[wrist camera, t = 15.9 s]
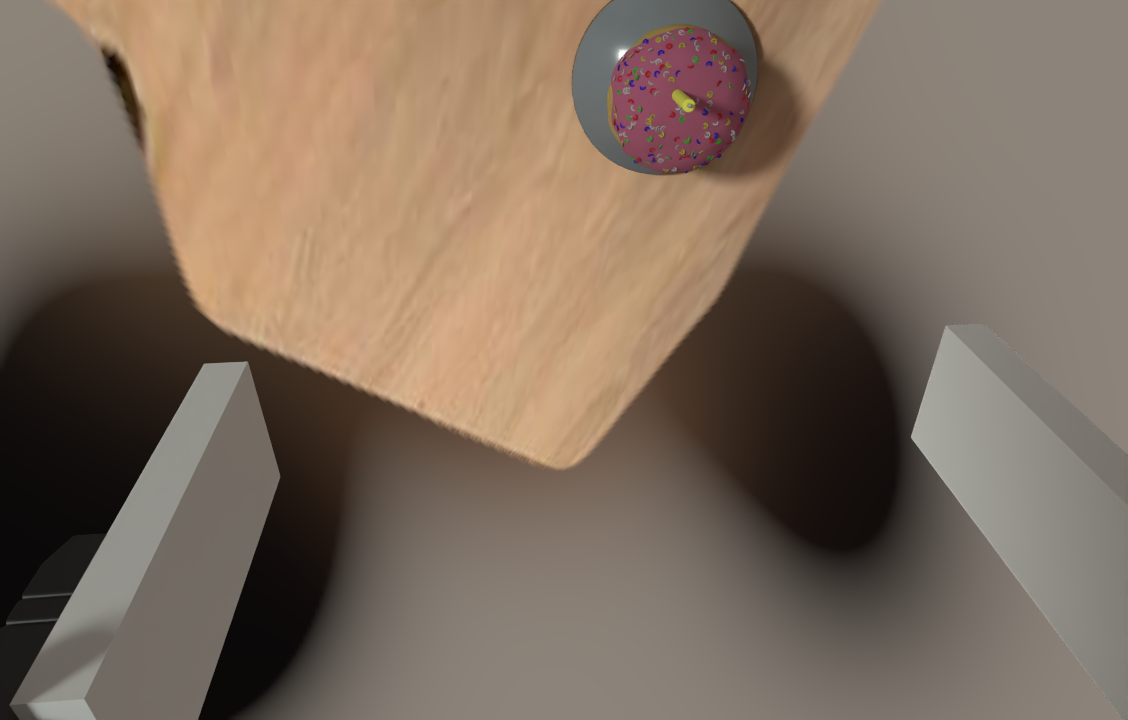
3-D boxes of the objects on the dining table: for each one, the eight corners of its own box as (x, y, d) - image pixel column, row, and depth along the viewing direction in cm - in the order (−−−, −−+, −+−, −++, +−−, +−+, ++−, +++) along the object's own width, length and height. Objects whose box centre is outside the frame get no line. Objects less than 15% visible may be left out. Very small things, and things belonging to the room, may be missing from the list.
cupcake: (571, 70, 47) (594, 123, 37) (685, -20, 45) (742, 11, 35) (644, 174, 52) (683, 247, 42) (752, 96, 49) (820, 154, 39)
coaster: (571, 173, 52) (572, 177, 51) (571, -21, 45) (572, -19, 45) (742, 167, 53) (745, 171, 52) (766, -24, 46) (770, -22, 46)
